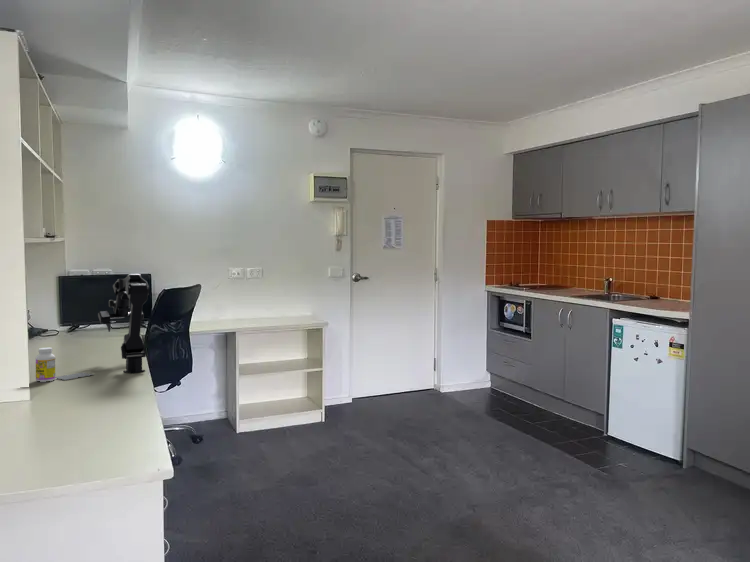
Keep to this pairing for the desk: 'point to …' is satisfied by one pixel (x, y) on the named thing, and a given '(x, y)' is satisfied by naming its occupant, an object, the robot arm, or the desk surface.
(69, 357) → the desk surface
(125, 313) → the robot arm
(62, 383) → the desk surface
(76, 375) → the mat
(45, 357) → the supplement bottle
